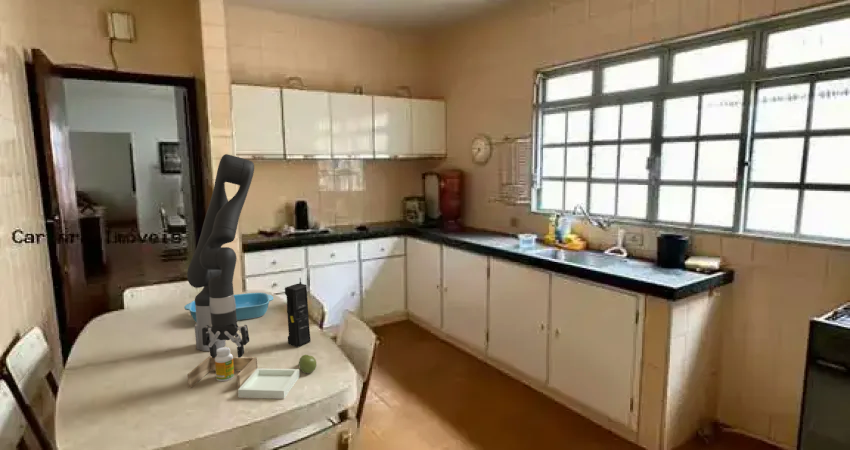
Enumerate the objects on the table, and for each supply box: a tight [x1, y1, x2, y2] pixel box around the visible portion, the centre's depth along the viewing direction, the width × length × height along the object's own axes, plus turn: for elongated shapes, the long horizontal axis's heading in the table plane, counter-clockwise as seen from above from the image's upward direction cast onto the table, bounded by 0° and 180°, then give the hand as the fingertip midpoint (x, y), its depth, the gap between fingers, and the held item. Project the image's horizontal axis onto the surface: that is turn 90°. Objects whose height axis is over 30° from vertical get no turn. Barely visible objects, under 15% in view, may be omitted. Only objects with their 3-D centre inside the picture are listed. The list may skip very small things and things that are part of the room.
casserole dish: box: [184, 292, 274, 323], centre depth 211 cm, size 37×22×7 cm, turn 113°
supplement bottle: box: [215, 346, 235, 382], centre depth 152 cm, size 5×5×10 cm
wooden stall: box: [187, 356, 258, 390], centre depth 152 cm, size 17×13×4 cm
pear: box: [298, 354, 317, 374], centre depth 158 cm, size 6×5×10 cm
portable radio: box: [284, 278, 312, 348], centre depth 177 cm, size 8×6×25 cm
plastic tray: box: [237, 367, 301, 400], centre depth 146 cm, size 14×14×2 cm
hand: (227, 356), depth 152 cm, fingers open, 8 cm apart
